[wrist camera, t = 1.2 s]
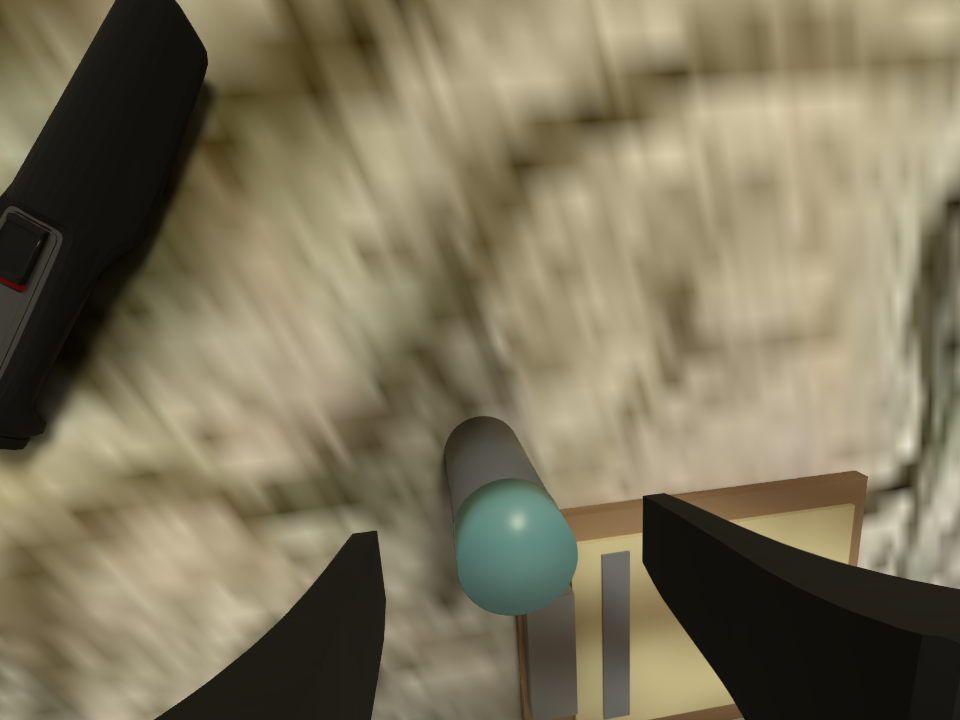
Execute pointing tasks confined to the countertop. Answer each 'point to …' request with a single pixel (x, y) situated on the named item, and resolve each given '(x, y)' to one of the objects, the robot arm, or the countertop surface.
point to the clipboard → (660, 605)
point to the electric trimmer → (89, 189)
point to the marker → (505, 522)
